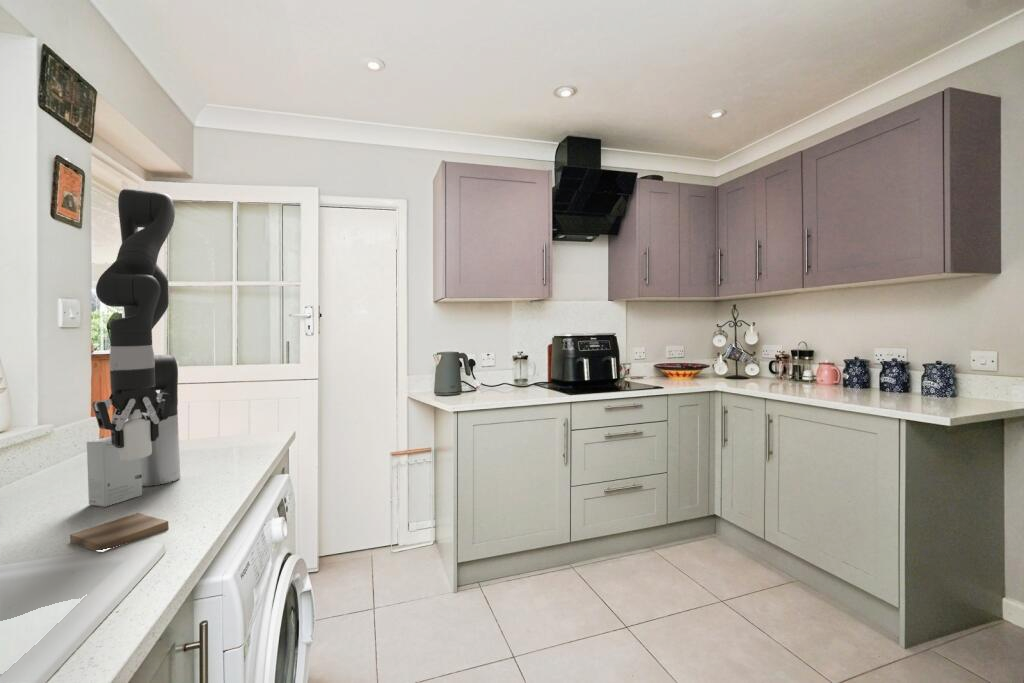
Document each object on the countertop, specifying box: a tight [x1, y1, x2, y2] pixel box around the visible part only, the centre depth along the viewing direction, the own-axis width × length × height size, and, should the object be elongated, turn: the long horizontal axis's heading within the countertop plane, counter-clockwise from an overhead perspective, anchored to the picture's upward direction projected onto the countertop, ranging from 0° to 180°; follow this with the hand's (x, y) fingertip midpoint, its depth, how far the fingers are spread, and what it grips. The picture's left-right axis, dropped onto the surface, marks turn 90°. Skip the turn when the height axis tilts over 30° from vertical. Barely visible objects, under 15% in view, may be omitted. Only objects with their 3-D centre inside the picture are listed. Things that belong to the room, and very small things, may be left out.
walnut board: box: [69, 512, 169, 551], centre depth 90 cm, size 11×11×2 cm
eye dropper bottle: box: [120, 409, 152, 461], centre depth 101 cm, size 4×6×12 cm
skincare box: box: [86, 436, 143, 508], centre depth 109 cm, size 8×6×15 cm
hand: (136, 443), depth 101 cm, fingers closed on eye dropper bottle, 5 cm apart
